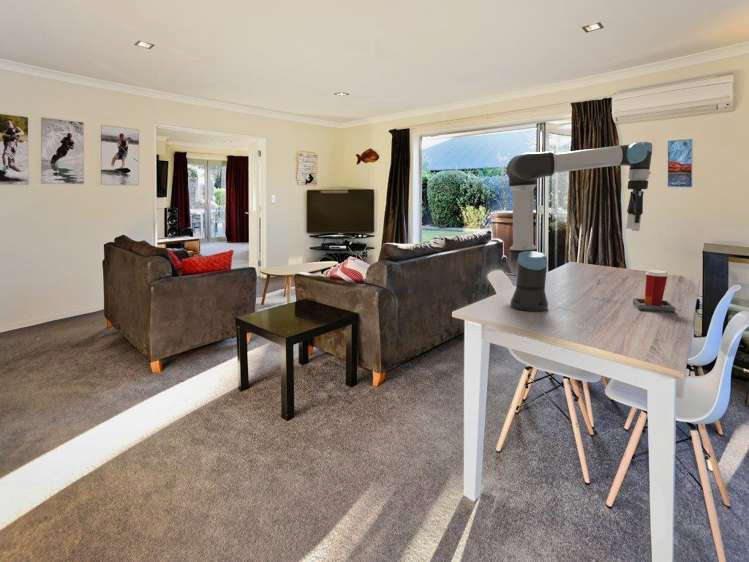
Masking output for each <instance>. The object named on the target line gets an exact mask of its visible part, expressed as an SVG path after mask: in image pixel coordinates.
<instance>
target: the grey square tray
mask: <svg viewBox="0 0 749 562" xmlns="http://www.w3.org/2000/svg"><path fill="white" fill-rule="evenodd" d="M632 304H633V305H634V307H635V308H636V309H637V310H638V311H645V312H646V311H647V312H657V313H671V314H675V312H676V307H675V306H674V305H673V304H672V303H671V302H669V301H668V300H664V299H662V304H661V306H654V305H645V298H638V297H637V298H635V297H633V298H632Z"/></svg>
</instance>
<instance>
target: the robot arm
mask: <svg viewBox="0 0 749 562" xmlns="http://www.w3.org/2000/svg"><path fill="white" fill-rule="evenodd" d="M652 155H653V144H652V142H650V141H639V142H638V141H637V142H633V143H631V144H623V145H615V146H614V145H613V146H607V147H606V146H605V147H597V148H590V149H579V150H573V151H565V152H558V153H557V152H556V153H554V151H544V152H543V151H540V152H539V151H538V152H534V151H533V152H532V151H531V152H524V153H520V154H517V155H515V156H513V157H512V158H511V159H510V160H509V162H508V163H507V166H506V174H507V177H508V188H510V189H511V191H512V245H511V246H510V247H509V255H508V258H507V267H508V270H509V272H510V273H512V274H513V276H515V277H516V282H515V283H516V285H515V290H514V293H513V294H512V297H511V299H510V307H511V306H512V307H513V309H515V308H516V310H518V309H520V310H519V311H523V310H525V312H543V311H547V310H548V309H549V302H548V298H547V294H546V281H547V269H548V268H547V267H548V256H547V255H546V254H545V253H543V252H539V251H537V249H538V247H537V246H536V245H535V244H534V189H535V188H536V187H537V185H538V179H542V178H545V177H552V176H554V175H555V174H556V173H558V174H559V173H563V172H565V173H567V172H571V171H581V170H587V169H588V170H589V169H597V168H605V167H614V166H620V167H621V166H629V169H628V181H627V187H626V189H627V190H632V191H630V194H629V195H630V196H629V200H628V206H627V210H626V212H627V219H626V226H625V228H626V229H630V230H631V231H633V232H640V229H641V228H640V226H641V220H642V219H641V218H642V215H643V213H644V210H643V208H644V190H647V189H648V188H649V187H648V186H649V177H650V175H651V174H652V172H651V169H650V168H651V164H652V163H651V161H652ZM642 190H643V191H642ZM512 307H511V308H512Z"/></svg>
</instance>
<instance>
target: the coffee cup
mask: <svg viewBox="0 0 749 562" xmlns="http://www.w3.org/2000/svg"><path fill="white" fill-rule="evenodd" d="M644 274H645V286H644V287H645V288H644V289H645V290H644V299H645V305H654V306H661V304H662V300H664V294H665V289H666V286H667V285H666V284H667V279H668V277H669V274H668V272H667V271H664V270H657V269H648V270H647V271H646V272H645V273H644Z"/></svg>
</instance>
